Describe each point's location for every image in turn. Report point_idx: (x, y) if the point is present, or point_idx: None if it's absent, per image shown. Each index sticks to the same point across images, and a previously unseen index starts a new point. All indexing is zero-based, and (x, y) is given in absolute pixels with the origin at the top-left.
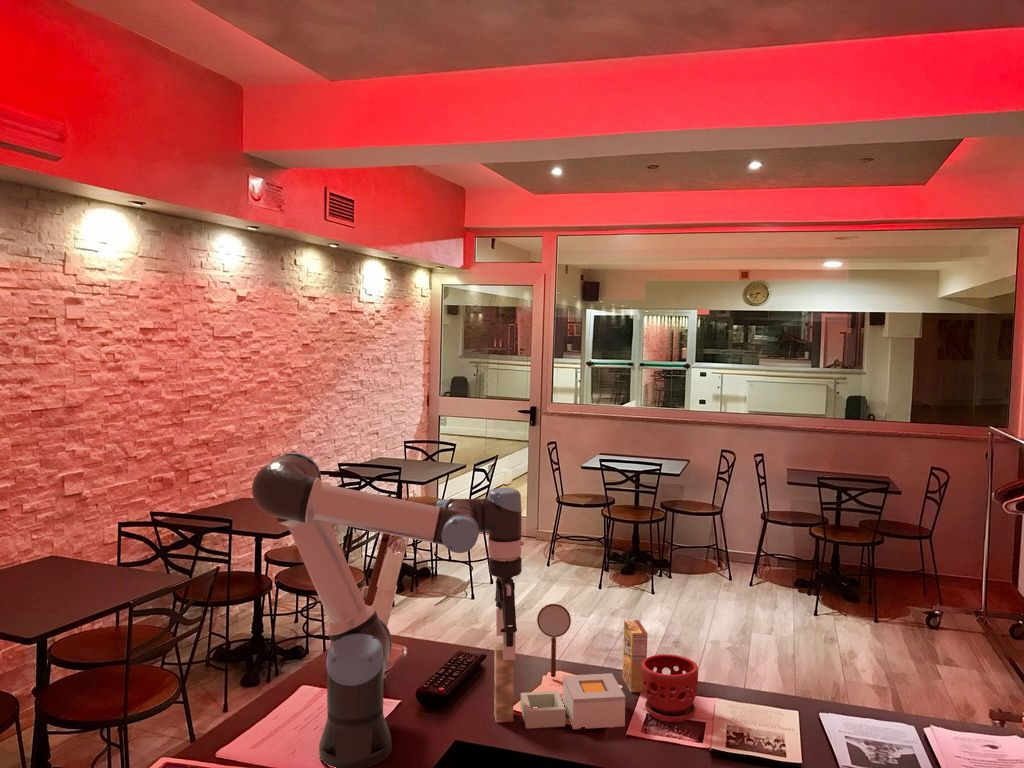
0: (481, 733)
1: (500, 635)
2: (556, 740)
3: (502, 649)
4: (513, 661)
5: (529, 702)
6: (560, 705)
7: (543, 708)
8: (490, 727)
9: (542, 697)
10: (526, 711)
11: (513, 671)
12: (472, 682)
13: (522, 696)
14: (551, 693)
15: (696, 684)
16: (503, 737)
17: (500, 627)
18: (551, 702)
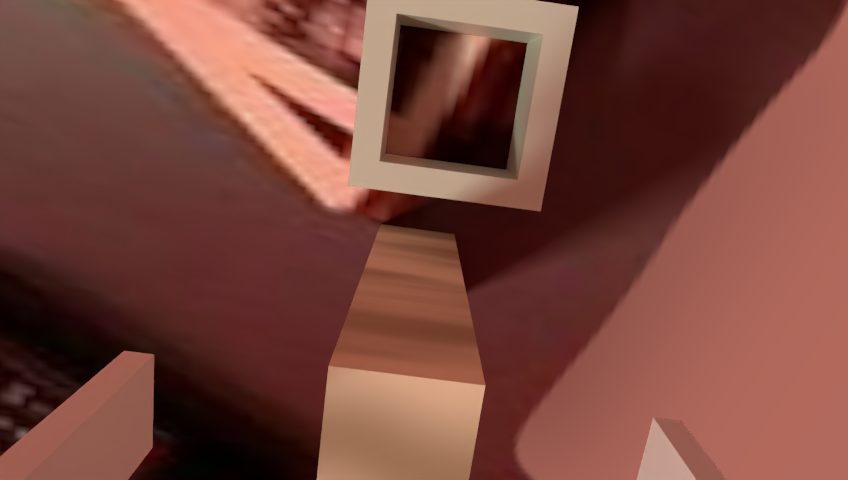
0: (511, 373)
1: (152, 420)
2: (656, 99)
3: (457, 471)
4: (475, 342)
5: (383, 144)
6: (532, 20)
7: (537, 120)
8: (476, 331)
9: (390, 78)
10: (540, 210)
11: (469, 313)
12: (69, 318)
13: (388, 187)
14: (391, 25)
15: None
16: (565, 301)
17: (110, 467)
18: (397, 31)
